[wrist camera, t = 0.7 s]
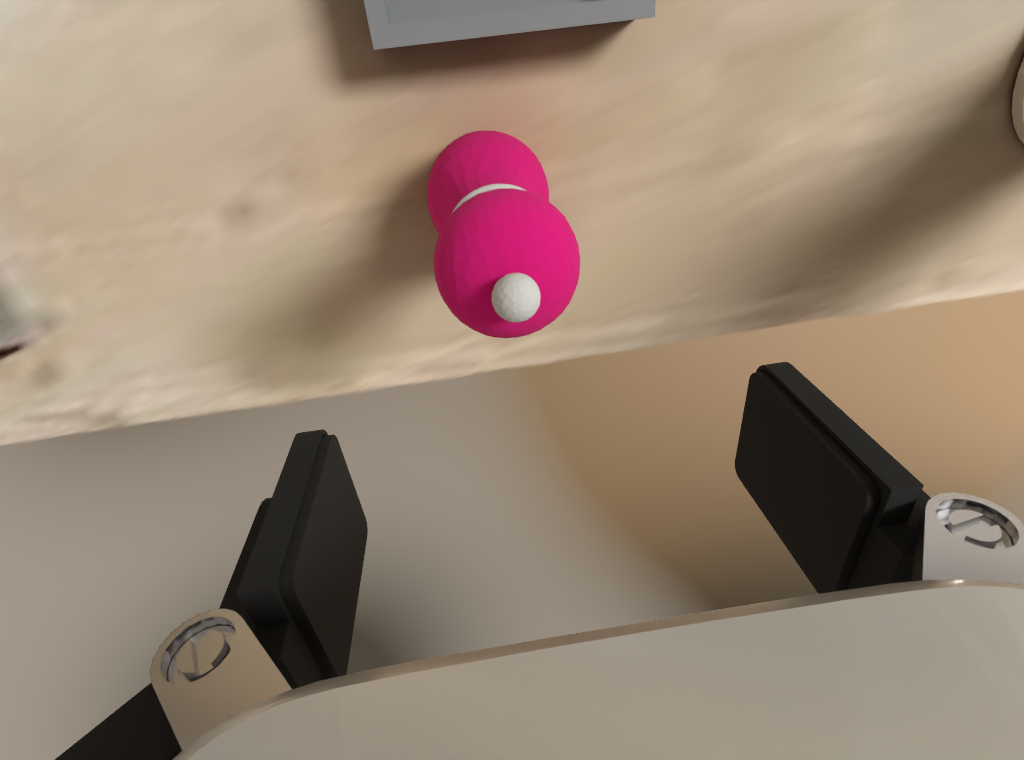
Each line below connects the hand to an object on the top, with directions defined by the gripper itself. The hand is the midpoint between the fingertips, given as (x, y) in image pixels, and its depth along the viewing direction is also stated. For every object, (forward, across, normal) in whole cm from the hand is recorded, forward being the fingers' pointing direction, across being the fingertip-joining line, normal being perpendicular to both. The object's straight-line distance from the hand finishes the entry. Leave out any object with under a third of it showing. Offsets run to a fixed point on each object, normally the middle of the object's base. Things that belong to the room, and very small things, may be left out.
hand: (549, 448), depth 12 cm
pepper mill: (+28, 0, 0) cm, 28 cm away
